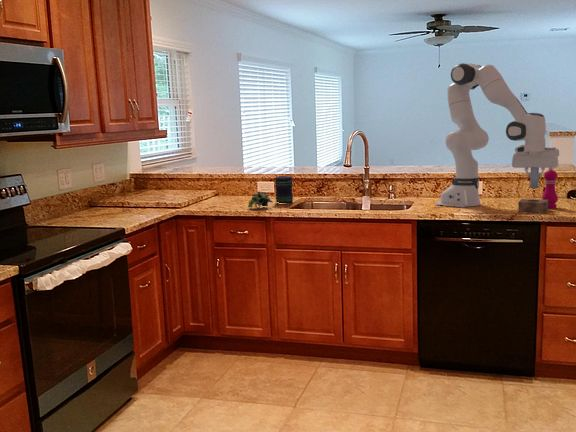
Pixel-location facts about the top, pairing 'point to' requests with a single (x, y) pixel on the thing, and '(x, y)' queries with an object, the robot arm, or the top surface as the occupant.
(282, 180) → the storage jar
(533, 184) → the peg
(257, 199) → the potted plant
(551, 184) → the pepper mill
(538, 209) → the socket block
